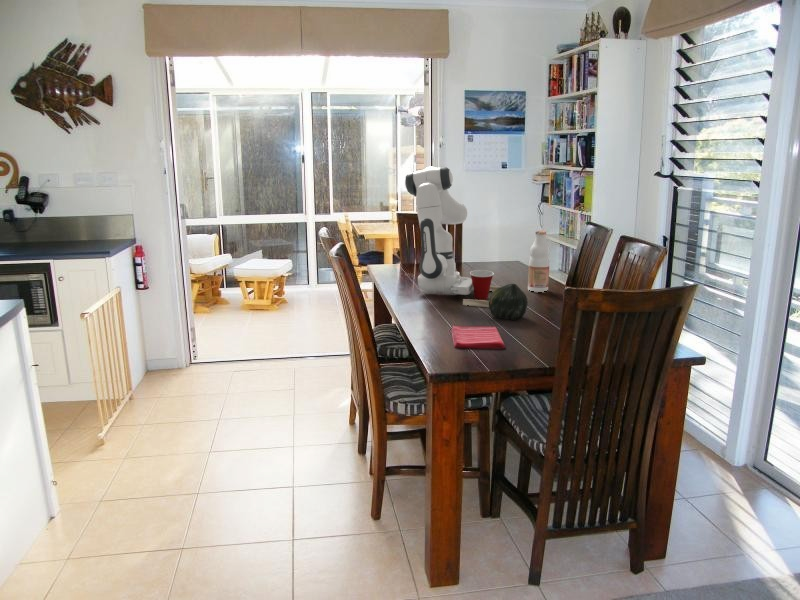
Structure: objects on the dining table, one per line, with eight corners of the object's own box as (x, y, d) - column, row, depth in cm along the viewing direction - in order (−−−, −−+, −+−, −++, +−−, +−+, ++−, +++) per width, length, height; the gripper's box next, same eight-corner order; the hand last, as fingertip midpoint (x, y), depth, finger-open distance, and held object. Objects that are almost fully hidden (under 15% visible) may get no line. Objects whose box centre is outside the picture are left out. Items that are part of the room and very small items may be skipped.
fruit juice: (523, 290, 304) (526, 231, 297) (537, 287, 309) (540, 229, 302) (537, 293, 296) (541, 233, 290) (552, 291, 301) (555, 231, 295)
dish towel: (454, 350, 214) (454, 342, 213) (450, 330, 237) (450, 324, 236) (506, 350, 213) (506, 343, 213) (496, 331, 236) (497, 324, 236)
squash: (486, 298, 262) (491, 276, 249) (523, 300, 261) (530, 278, 249) (487, 327, 253) (492, 306, 241) (525, 329, 253) (532, 308, 241)
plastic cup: (469, 301, 281) (470, 274, 279) (468, 295, 292) (469, 269, 289) (494, 301, 281) (495, 274, 278) (492, 296, 291) (493, 270, 288)
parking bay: (476, 290, 303) (476, 285, 302) (516, 293, 297) (516, 287, 297) (462, 305, 274) (462, 299, 273) (506, 308, 268) (506, 302, 268)
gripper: (447, 282, 279) (479, 284, 275) (458, 274, 298) (487, 276, 294) (447, 297, 280) (478, 299, 276) (457, 287, 299) (487, 289, 295)
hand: (483, 287), depth 285 cm, fingers closed, pressing on plastic cup
